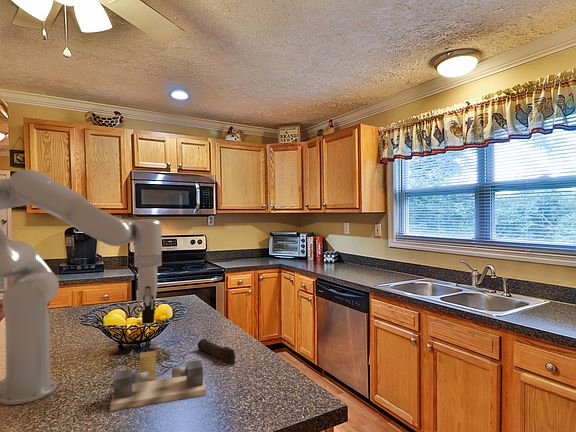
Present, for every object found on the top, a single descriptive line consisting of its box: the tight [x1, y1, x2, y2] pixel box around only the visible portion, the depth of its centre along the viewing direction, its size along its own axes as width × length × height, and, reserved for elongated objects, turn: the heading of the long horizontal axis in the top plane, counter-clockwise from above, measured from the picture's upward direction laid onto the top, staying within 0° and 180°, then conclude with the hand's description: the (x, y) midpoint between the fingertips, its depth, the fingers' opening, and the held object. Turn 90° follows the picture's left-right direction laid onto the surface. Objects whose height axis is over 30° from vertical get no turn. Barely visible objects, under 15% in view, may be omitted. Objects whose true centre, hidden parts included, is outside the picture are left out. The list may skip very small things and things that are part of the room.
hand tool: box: [197, 338, 236, 365], centre depth 120 cm, size 19×4×5 cm, turn 44°
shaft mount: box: [109, 359, 207, 412], centre depth 95 cm, size 23×10×6 cm, turn 110°
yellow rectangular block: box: [138, 350, 157, 381], centre depth 104 cm, size 4×4×7 cm
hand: (148, 318), depth 104 cm, fingers open, 9 cm apart
